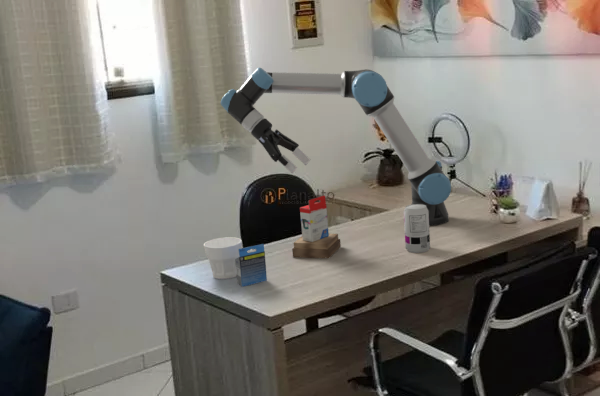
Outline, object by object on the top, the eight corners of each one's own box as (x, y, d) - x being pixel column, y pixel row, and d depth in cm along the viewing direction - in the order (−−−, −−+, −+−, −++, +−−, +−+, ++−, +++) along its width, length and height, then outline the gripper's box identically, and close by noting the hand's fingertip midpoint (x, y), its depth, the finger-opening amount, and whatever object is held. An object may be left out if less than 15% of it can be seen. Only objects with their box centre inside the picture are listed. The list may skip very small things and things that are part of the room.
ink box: (319, 234, 282) (315, 193, 279) (329, 236, 279) (326, 195, 276) (301, 240, 277) (298, 198, 273) (312, 242, 273) (308, 200, 270)
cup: (213, 283, 254) (210, 250, 252) (202, 273, 266) (198, 241, 263) (250, 276, 259) (247, 243, 257) (237, 266, 270) (234, 234, 268)
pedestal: (340, 247, 283) (339, 233, 281) (329, 258, 271) (327, 244, 270) (305, 246, 287) (304, 232, 286) (292, 257, 275) (291, 243, 274)
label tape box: (262, 278, 256) (258, 240, 254) (267, 281, 253) (264, 243, 250) (236, 284, 252) (233, 246, 250) (242, 287, 249) (238, 249, 246)
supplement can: (400, 251, 272) (398, 208, 269) (414, 245, 278) (412, 202, 275) (420, 254, 267) (418, 210, 263) (434, 248, 272) (432, 205, 269)
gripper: (265, 127, 296) (307, 166, 294) (236, 139, 273) (282, 181, 271) (276, 112, 293) (319, 152, 291) (249, 123, 270) (295, 166, 268)
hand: (301, 166), depth 281 cm, fingers open, 13 cm apart
